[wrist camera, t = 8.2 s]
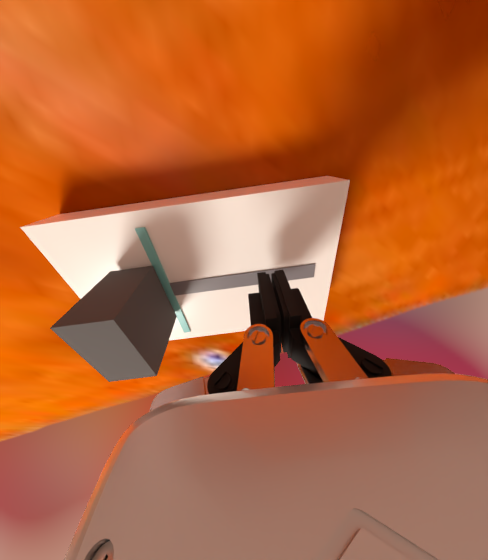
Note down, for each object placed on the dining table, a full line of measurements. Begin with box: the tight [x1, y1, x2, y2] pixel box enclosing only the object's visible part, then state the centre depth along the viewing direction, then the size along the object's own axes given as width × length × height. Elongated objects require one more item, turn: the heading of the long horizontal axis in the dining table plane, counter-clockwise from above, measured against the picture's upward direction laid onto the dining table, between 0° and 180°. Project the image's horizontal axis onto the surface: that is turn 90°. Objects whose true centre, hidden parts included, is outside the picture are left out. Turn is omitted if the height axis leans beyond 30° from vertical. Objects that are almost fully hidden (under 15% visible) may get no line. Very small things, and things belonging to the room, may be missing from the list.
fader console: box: [21, 176, 350, 340], centre depth 15 cm, size 20×12×3 cm, turn 97°
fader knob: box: [51, 266, 177, 382], centre depth 12 cm, size 3×5×5 cm, turn 7°
